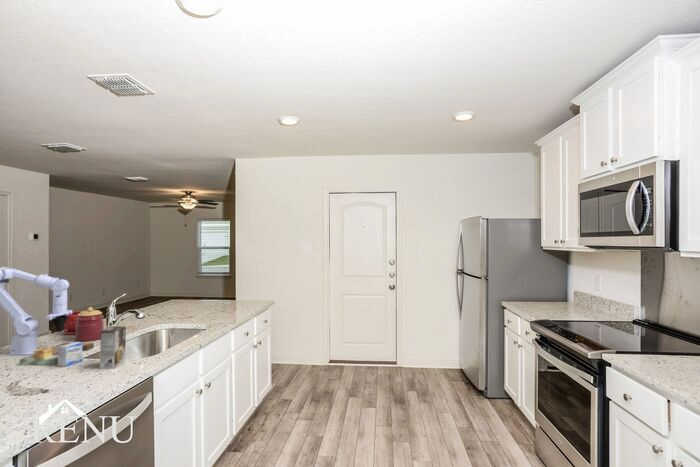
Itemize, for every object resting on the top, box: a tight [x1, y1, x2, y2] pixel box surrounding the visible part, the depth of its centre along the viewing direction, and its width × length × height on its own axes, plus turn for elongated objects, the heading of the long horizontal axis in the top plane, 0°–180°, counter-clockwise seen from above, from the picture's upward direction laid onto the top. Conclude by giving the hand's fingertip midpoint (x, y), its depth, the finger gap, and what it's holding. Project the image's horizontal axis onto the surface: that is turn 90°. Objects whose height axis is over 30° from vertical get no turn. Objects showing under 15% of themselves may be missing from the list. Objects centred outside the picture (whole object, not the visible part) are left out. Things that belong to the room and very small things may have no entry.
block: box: [33, 347, 52, 359], centre depth 166 cm, size 4×4×4 cm
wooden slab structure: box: [19, 342, 95, 366], centre depth 176 cm, size 15×26×2 cm, turn 1°
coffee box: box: [99, 325, 127, 370], centre depth 163 cm, size 9×6×16 cm
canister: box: [74, 306, 105, 343], centre depth 206 cm, size 13×13×18 cm
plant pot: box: [63, 310, 83, 336], centre depth 218 cm, size 13×13×12 cm
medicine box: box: [57, 341, 83, 367], centre depth 165 cm, size 8×4×9 cm, turn 168°
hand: (59, 331), depth 185 cm, fingers closed
